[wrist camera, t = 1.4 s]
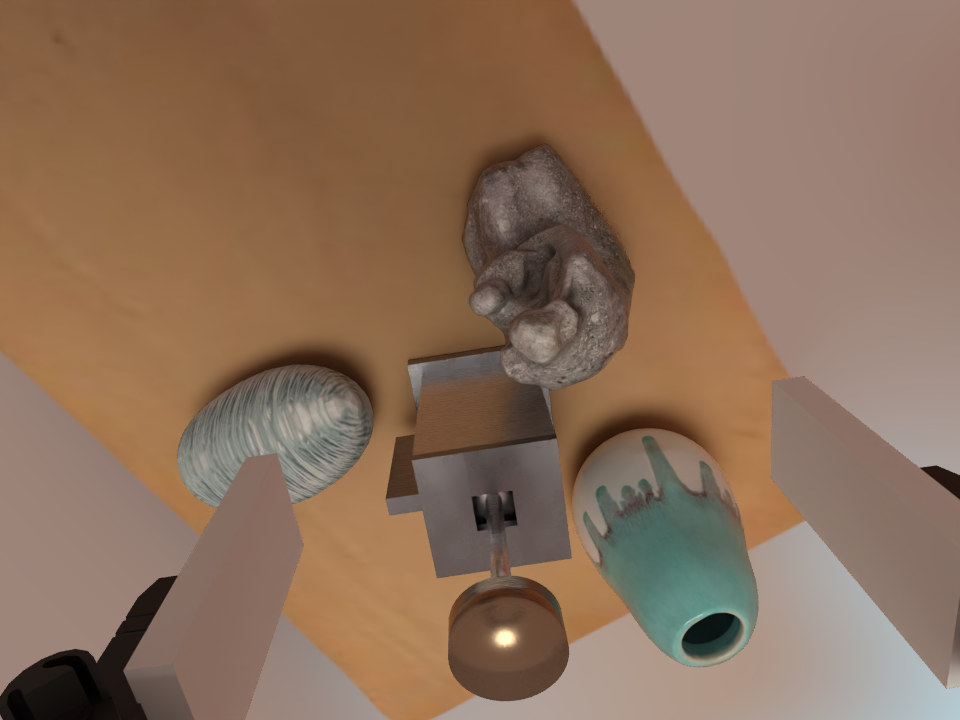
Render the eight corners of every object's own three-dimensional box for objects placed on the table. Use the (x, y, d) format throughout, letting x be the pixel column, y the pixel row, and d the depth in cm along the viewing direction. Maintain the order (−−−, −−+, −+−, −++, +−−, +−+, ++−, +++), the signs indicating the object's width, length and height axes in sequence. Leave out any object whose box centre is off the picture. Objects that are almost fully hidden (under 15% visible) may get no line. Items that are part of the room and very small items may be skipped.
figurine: (473, 133, 45) (485, 154, 28) (646, 155, 45) (758, 188, 29) (452, 322, 49) (450, 438, 32) (608, 339, 50) (686, 460, 33)
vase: (727, 498, 56) (844, 670, 39) (599, 555, 57) (659, 744, 40) (675, 384, 52) (780, 521, 35) (539, 449, 53) (578, 609, 37)
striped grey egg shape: (225, 533, 51) (182, 547, 41) (185, 416, 52) (133, 403, 42) (395, 465, 53) (392, 463, 44) (352, 354, 54) (340, 327, 45)
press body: (388, 363, 50) (366, 453, 37) (541, 339, 50) (571, 421, 37) (413, 478, 54) (400, 595, 41) (556, 456, 54) (587, 568, 41)
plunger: (439, 459, 40) (433, 614, 28) (532, 445, 40) (566, 594, 28) (454, 537, 42) (455, 712, 30) (543, 523, 42) (579, 694, 30)
